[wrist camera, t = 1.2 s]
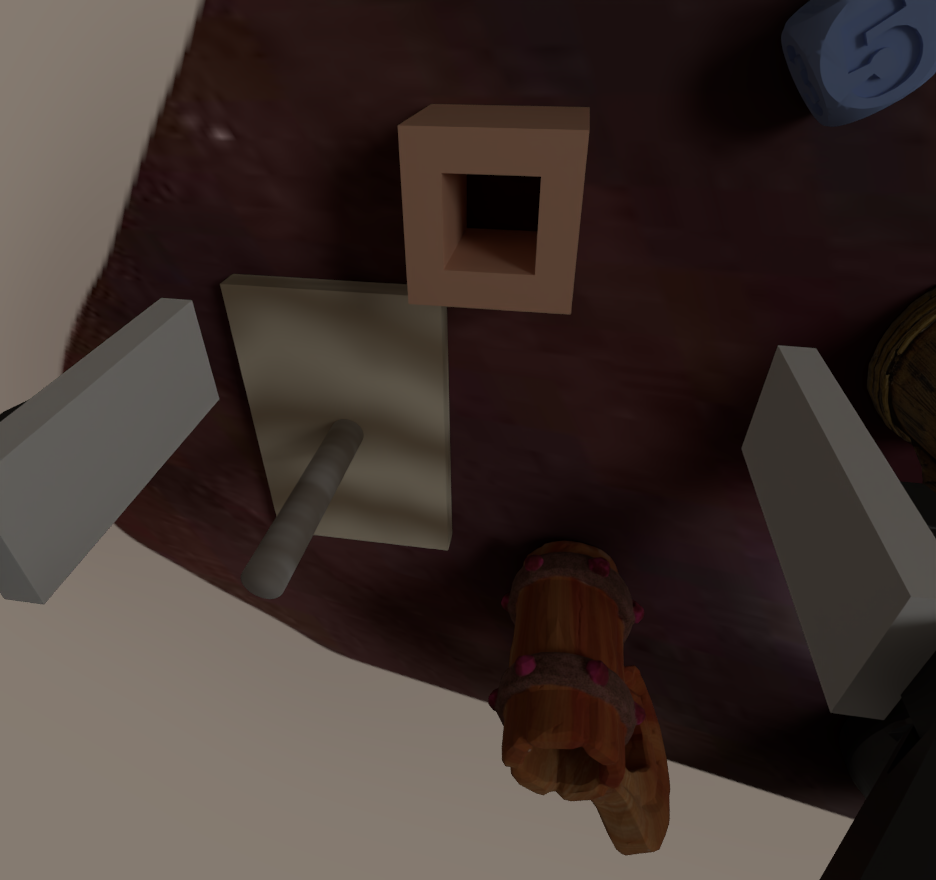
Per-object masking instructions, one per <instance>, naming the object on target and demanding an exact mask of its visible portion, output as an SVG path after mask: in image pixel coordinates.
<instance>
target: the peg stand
mask: <svg viewBox="0 0 936 880" xmlns="http://www.w3.org/2000/svg"><path fill="white" fill-rule="evenodd" d="M220 287H221V291H222V295H223V299H224V303H225V307H226V311H227V315H228V319H229V324H230V328H231V332H232V336H233V340H234V344H235V348H236V352H237V356H238V361H239V365H240V369H241V373H242V377H243V381H244V385H245V389H246V393H247V397H248V402H249V406H250V410H251V414H252V418H253V422H254V426H255V430H256V434H257V439H258V443H259V447H260V451H261V455H262V459H263V463H264V467H265V471H266V476H267V480H268V484H269V488H270V492H271V496H272V500H273V504H274V508H275V513H276V518H275V520H274V522H273V523H272V525H271V527H270V528H269V530H268V531H267V533H266V535H265V536H264V538H263V540H262V541H261V543H260V544H259V546H258V548H257V549H256V551H255V553H254V554H253V556H252V558H251V559H250V561H249V562H248V564H247V566H246V567H245V569H244V571H243V572H242V574H241V581H242V584H243V585H244V587H245V588H246V589H247V590H248V591H250V592H251V593H253V594H254V595H256V596H259V597H262V598H267V599H273V598H277V597H279V596H281V595H282V594H283V592H284V590H285V588H286V586H287V584H288V582H289V580H290V578H291V576H292V574H293V573H294V571H295V569H296V567H297V565H298V563H299V561H300V559H301V557H302V555H303V553H304V551H305V550H306V548H307V546H308V544H309V542H310V540H311V538H312V536H313V535H320V536H329V537H337V538H346V539H354V540H363V541H371V542H380V543H388V544H397V545H405V546H414V547H423V548H431V549H440V550H448V549H449V545H450V541H451V537H452V511H451V467H450V423H449V378H448V334H447V306H432V305H416V304H408V288H407V284H392V283H375V282H359V281H342V280H325V279H309V278H292V277H275V276H258V275H242V274H232V275H231V276H230V277H228V278H227V279H226V280H224V281H223V282H222V283H220Z"/></svg>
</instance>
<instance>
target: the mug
mask: <svg viewBox="0 0 936 880" xmlns="http://www.w3.org/2000/svg"><path fill="white" fill-rule="evenodd" d="M501 604H502V607H503V609H505V610H506V611H507V612H509V615H510V617H511V620H512V621H513V623H514V625H515V629H514V637H513V642H512V646H511V651H510V661H509V668H508V669H507V670H506V671H505V673H504V674H503V676H502V678H501V682H500V686H499V688H497V689H495V690H493V691H492V693H491V694H490V696H489V705H490V707H491V708H492V709H493V710H494V711H496V712H497V714H498V716H499V718H500V720H501V722H502V724H503V726H504V731H503V740H502V761H503V763H504V764H505V766H508V767H511V774H512V776H513V777H514V778H515V779H516V781H517V782H518V783H519V784H520V785H522V786H523V787H526V788H527V789H529V790H531V791H533V792H535V793H537V794H541V795H545V794H547V793H548V792H551V791H556V792H557V793H558V794H559V795H560V796H561V797H562V798H563V799H564V800H568V801H581V800H591V801H592V802H593V804H594V805H595V806H596V808H597V810H598V812H599V814H600V817H601V819H602V822H603V824H604V826H605V828H606V831H607V833H608V835H609V837H610V839H611V840H612V842H613V844H614V846H615V848H616V849H617V850H618V851H619V852H620V853H621V854H624V855H632V854H639V853H648V852H655V851H657V850H659V849H660V846H661V844H662V842H663V839H664V837H665V835H666V831H667V828H668V825H669V819H670V818H669V816H670V814H669V811H670V809H669V794H670V782H669V773H668V766H667V758H666V754H665V749H664V744H663V740H662V735H661V730H660V727H659V724H658V720H657V717H656V714H655V711H654V708H653V704H652V701H651V699H650V696H649V694H648V691H647V688H646V686H645V683H644V681H643V679H642V677H641V675H640V671H639V670H638V669H637V667H636V666H634V665H633V666H623V644H624V642H625V640H626V639H627V637H628V635H629V633H630V630H631V628H632V625H633V624H634V623H639V622H640V621H641V620H642V619H643V616H644V609H643V608H642V607H641V606H640V605H639V604H638V603H637V602H636V601H633V600H632V598H631V595H630V592H629V589H628V587H627V586H626V584H625V582H624V581H623V579H622V578H621V576H620V575H619V574H618V570H617V567H616V565H615V563H614V562H613V560H612V559H611V557H610V556H609V555H607V554H606V553H605V552H604V551H602V550H601V549H599V548H596V547H593V546H590V545H587V544H584V543H580V542H574V541H556V542H551V543H546V544H544V545H543V546H542V547H540V548H538V549H536V550H534V551H533V552H531V553H530V554H529V555H528V556H527V558H525V561H524V564H523V566H522V568H521V569H520V570H519V571H518V572H517V574H516V576H515V578H514V580H513V584H512V588H511V591H510V593H506V595H505V596H504V597H503V599H502V601H501Z"/></svg>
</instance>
